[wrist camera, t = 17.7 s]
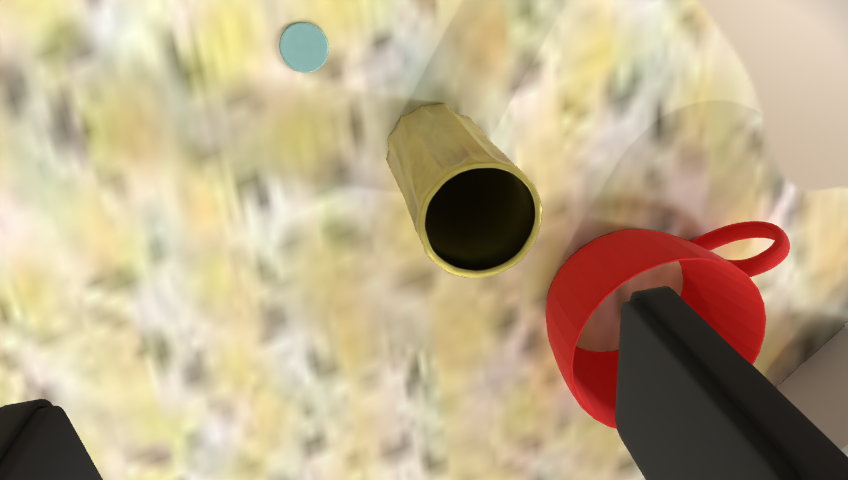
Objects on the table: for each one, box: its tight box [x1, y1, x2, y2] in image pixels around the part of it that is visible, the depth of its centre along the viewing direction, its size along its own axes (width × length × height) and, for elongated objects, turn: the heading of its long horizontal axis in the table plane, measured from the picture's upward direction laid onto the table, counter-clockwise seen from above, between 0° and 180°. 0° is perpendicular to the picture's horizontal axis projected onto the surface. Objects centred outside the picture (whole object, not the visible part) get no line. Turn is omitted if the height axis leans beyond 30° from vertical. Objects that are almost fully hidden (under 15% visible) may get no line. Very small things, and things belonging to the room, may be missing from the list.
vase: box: [386, 103, 542, 278], centre depth 29 cm, size 6×6×14 cm
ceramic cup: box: [546, 221, 790, 429], centre depth 38 cm, size 13×17×10 cm
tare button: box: [280, 22, 328, 73], centre depth 30 cm, size 3×3×1 cm
